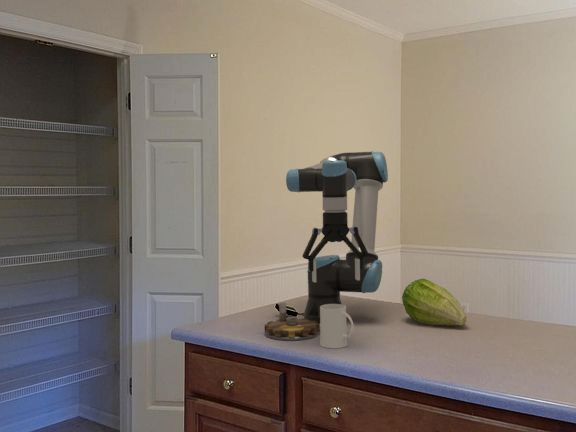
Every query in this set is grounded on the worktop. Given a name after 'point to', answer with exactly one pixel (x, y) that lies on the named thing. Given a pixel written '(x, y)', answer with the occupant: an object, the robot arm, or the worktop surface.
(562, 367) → the worktop surface
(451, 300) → the lettuce
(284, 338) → the base plate
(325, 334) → the mug
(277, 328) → the sprocket
